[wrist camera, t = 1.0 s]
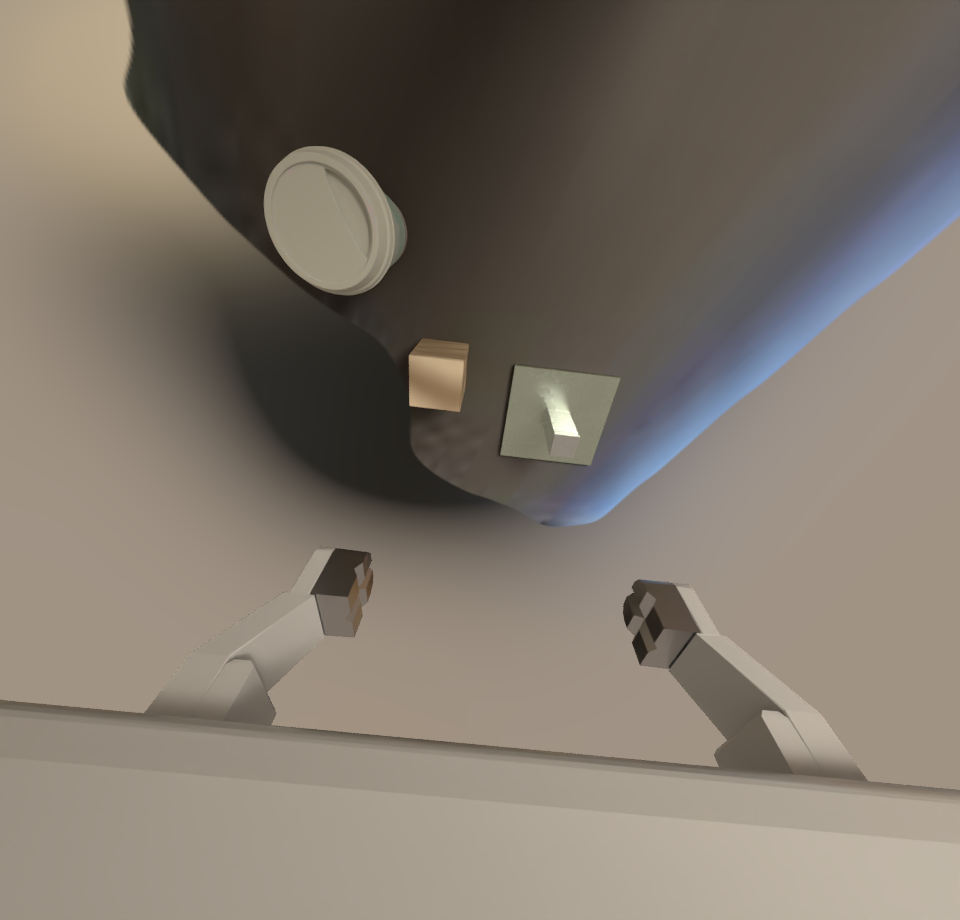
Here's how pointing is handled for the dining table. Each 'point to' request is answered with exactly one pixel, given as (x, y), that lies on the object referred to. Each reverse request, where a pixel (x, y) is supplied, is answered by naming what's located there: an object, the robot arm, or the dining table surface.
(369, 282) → the coffee cup
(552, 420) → the post
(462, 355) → the wood grain block
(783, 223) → the dining table surface
